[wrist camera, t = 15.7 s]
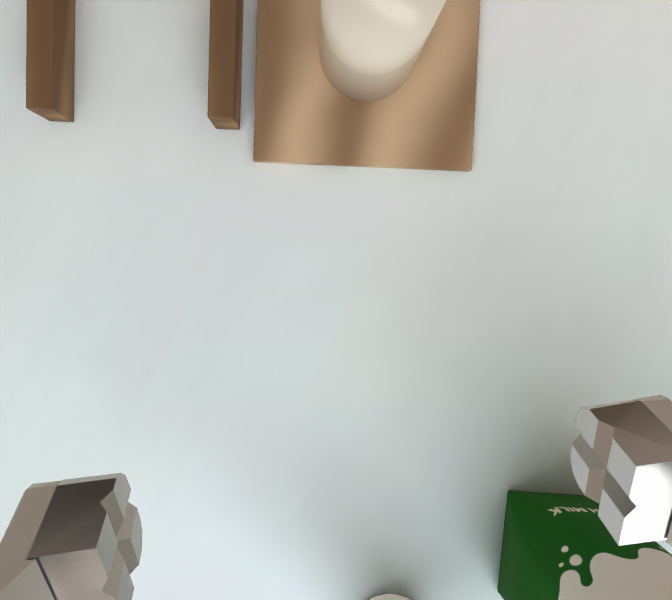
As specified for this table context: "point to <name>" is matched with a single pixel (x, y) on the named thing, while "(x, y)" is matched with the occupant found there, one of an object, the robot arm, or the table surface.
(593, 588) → the milk carton
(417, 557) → the table surface
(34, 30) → the holder
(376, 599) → the drinking glass
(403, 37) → the white cylinder
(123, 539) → the robot arm
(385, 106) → the square wooden board
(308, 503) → the table surface
